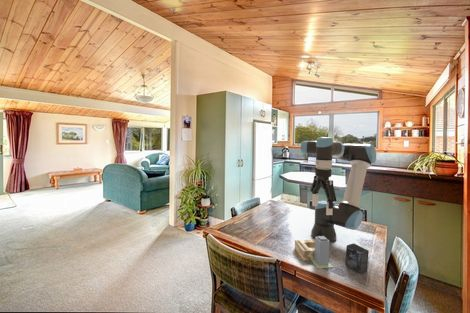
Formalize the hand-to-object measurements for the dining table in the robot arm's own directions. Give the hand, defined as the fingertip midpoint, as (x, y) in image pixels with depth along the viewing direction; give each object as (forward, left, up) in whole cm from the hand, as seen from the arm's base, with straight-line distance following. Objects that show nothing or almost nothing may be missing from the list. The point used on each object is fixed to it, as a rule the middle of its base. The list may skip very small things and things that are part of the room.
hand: (321, 210), depth 110 cm
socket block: (+1, -8, -27) cm, 28 cm away
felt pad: (0, +2, -27) cm, 27 cm away
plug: (0, +2, -27) cm, 27 cm away
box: (-15, +7, -27) cm, 32 cm away
